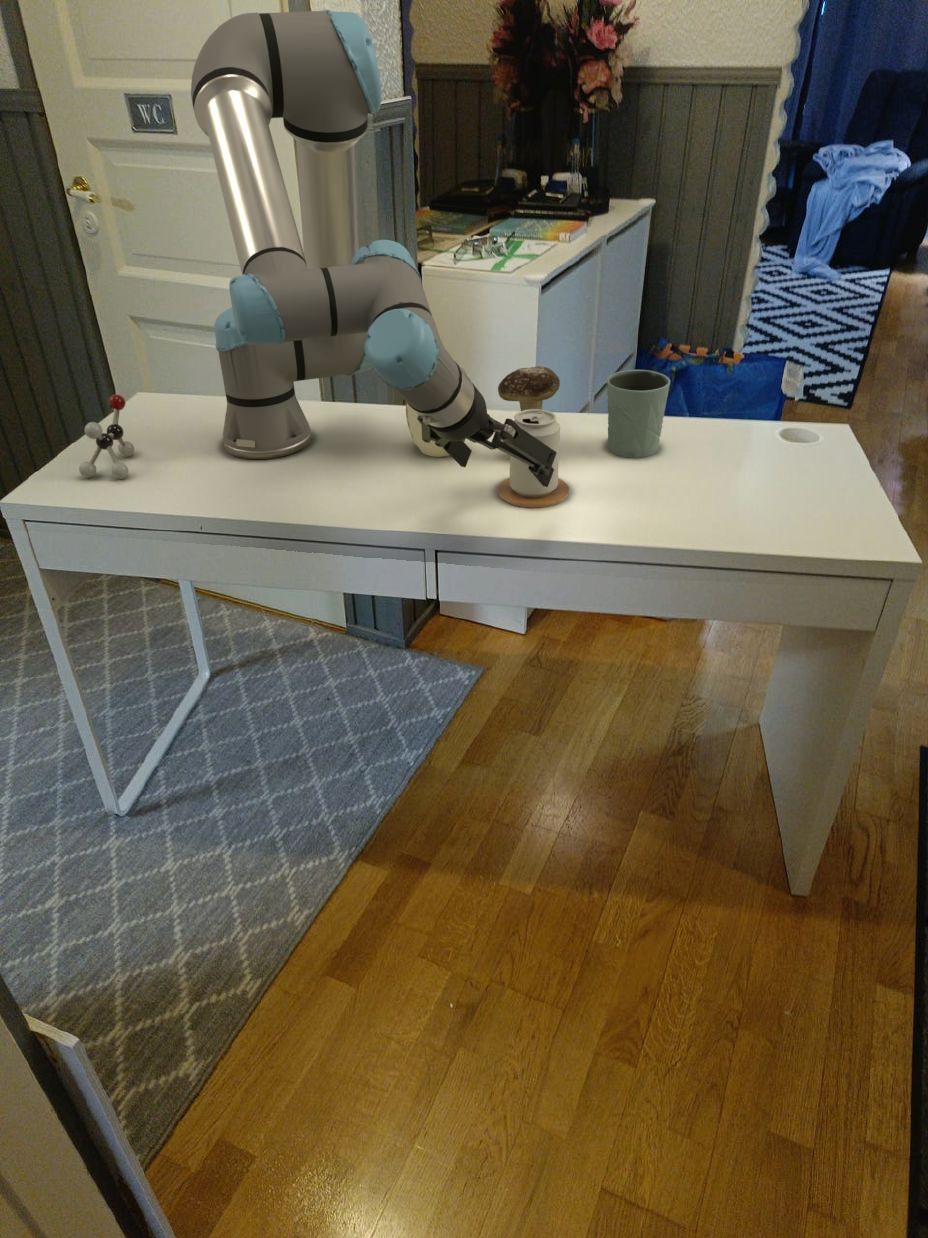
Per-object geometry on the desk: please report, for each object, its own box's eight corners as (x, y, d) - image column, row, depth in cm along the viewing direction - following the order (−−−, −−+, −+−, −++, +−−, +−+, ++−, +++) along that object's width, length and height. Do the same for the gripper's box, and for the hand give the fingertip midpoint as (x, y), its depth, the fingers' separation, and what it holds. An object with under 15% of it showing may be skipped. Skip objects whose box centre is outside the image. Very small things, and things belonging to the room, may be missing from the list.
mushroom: (566, 453, 149) (570, 366, 140) (540, 472, 143) (543, 382, 135) (518, 441, 153) (519, 356, 145) (491, 459, 148) (491, 371, 139)
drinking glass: (670, 442, 152) (677, 374, 145) (651, 464, 145) (659, 393, 138) (614, 432, 156) (619, 365, 149) (593, 454, 149) (598, 384, 142)
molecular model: (78, 480, 145) (60, 418, 139) (110, 450, 154) (94, 391, 148) (126, 481, 144) (109, 419, 138) (155, 451, 154) (141, 392, 148)
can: (499, 489, 137) (499, 416, 130) (531, 474, 141) (532, 402, 135) (535, 504, 133) (537, 429, 126) (567, 488, 137) (571, 414, 130)
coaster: (492, 479, 141) (492, 476, 141) (559, 473, 143) (559, 470, 142) (505, 510, 132) (505, 507, 132) (576, 504, 134) (576, 501, 133)
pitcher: (484, 429, 158) (483, 353, 151) (458, 471, 144) (456, 389, 136) (426, 424, 161) (422, 349, 153) (395, 465, 147) (389, 384, 139)
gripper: (356, 411, 114) (425, 473, 133) (526, 449, 103) (575, 511, 122) (377, 358, 114) (443, 428, 133) (548, 390, 103) (594, 461, 122)
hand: (506, 468), depth 127 cm, fingers open, 13 cm apart
